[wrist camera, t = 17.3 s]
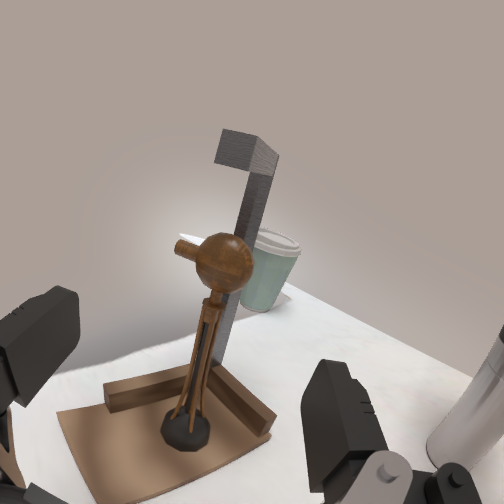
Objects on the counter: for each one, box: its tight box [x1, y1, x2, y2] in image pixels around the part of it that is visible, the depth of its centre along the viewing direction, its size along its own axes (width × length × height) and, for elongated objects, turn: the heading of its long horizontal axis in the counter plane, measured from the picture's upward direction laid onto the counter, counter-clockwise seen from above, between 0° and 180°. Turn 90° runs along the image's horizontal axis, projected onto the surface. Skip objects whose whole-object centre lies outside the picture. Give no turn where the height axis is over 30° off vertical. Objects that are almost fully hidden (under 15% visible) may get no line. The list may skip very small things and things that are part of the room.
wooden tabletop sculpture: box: [160, 233, 255, 452], centre depth 21 cm, size 6×5×20 cm
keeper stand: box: [56, 129, 279, 504], centre depth 19 cm, size 19×11×27 cm, turn 133°
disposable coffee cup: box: [240, 227, 301, 313], centre depth 55 cm, size 11×11×15 cm
